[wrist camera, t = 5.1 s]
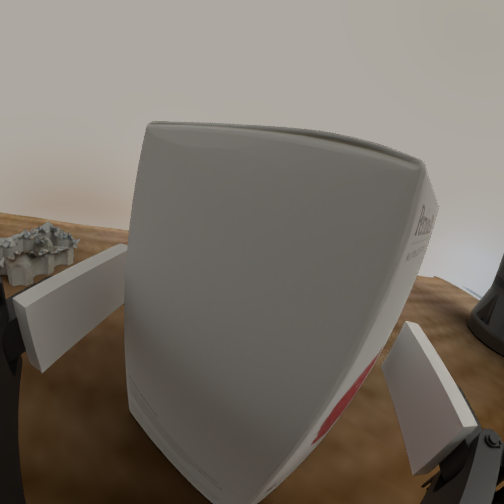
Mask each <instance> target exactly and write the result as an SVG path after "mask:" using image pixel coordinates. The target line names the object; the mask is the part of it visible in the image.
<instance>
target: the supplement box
mask: <svg viewBox="0 0 504 504" xmlns="http://www.w3.org/2000/svg"><path fill="white" fill-rule="evenodd" d="M438 209H439V205H438V203H437V200H436V196H435V194H434V190H433V188H432V185H431V182H430V179H429V176H428V173H427V169H426V166H425V164H424V162H423V161H421V160H419V159H417V158H415V157H412V156H410V155H408V154H405V153H402V152H400V151H397V150H394V149H392V148H389V147H386V146H384V145H380V144H377V143H373V142H370V141H366V140H362V139H358V138H354V137H350V136H345V135H340V134H334V133H330V132H323V131H316V130H308V129H298V128H287V127H274V126H258V125H257V126H256V125H239V124H221V123H196V122H168V121H167V122H166V121H152V122H151V123H149V124H148V125H147V128H146V132H145V136H144V141H143V145H142V150H141V156H140V161H139V166H138V171H137V177H136V183H135V191H134V196H133V204H132V211H131V219H130V228H129V237H128V248H127V260H126V276H125V300H124V344H125V365H126V381H127V392H128V402H129V410H130V412H131V413H132V415H133V416H134V418H135V419H136V420H137V422H138V423H139V424H140V426H141V427H142V428H143V430H144V431H145V432H146V433H147V435H148V436H149V437H150V438H151V440H152V441H153V442H154V443H155V444H156V446H157V447H158V448H159V449H160V450H161V452H162V453H163V454H164V455H165V456H166V457H167V458H168V460H169V461H170V462H171V463H172V464H173V465H174V466H175V467H176V468H177V469H178V470H179V472H180V473H181V474H182V475H183V476H184V477H185V478H186V479H187V480H188V481H189V482H190V483H191V484H192V485H193V486H194V487H195V488H196V489H197V490H198V491H199V492H201V493H202V494H203V495H204V496H205V497H206V498H207V499H208V500H209V501H210V502H211V503H213V504H257V503H259V502H260V501H261V500H262V499H264V498H265V497H266V496H267V495H268V494H269V493H271V492H272V491H273V490H274V489H275V488H276V487H277V486H279V485H280V484H281V483H282V482H283V481H284V480H285V479H286V478H287V477H288V476H289V475H290V474H291V473H292V472H293V471H294V470H295V469H296V468H297V467H298V466H299V465H300V464H301V463H302V462H303V461H304V460H305V459H306V458H307V457H308V456H309V454H310V453H311V452H312V451H313V450H314V449H315V448H316V447H317V445H318V444H319V443H320V442H321V441H322V440H323V438H324V437H325V436H326V435H327V433H328V432H329V431H330V429H331V428H332V427H333V426H334V424H335V423H336V422H337V420H338V419H339V418H340V416H341V415H342V413H343V412H344V411H345V409H346V408H347V406H348V405H349V403H350V402H351V400H352V399H353V397H354V396H355V394H356V393H357V391H358V390H359V388H360V387H361V385H362V383H363V382H364V380H365V379H366V377H367V375H368V374H369V372H370V370H371V369H372V367H373V365H374V364H375V362H376V360H377V358H378V356H379V355H380V353H381V351H382V349H383V347H384V346H385V344H386V342H387V340H388V338H389V336H390V334H391V332H392V330H393V328H394V326H395V324H396V322H397V320H398V318H399V316H400V314H401V312H402V310H403V307H404V305H405V303H406V301H407V298H408V296H409V294H410V291H411V289H412V286H413V284H414V282H415V279H416V277H417V274H418V271H419V269H420V266H421V263H422V261H423V258H424V255H425V252H426V249H427V246H428V243H429V240H430V237H431V234H432V230H433V227H434V224H435V220H436V217H437V213H438Z"/></svg>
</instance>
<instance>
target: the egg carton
mask: <svg viewBox="0 0 504 504" xmlns="http://www.w3.org/2000/svg"><path fill="white" fill-rule="evenodd" d="M78 242H80V240H79V239H77V240H74V239H73V238H72V236H71V234H70V233H65V232H64V230H61V229H60V228H59V227H57V228H55V227H54V226H53V225H52V224H51V223H50V222H49V221H48V222H46V223H45V224H43V225H42V226H39V227H38V228H34V229H31V231H30V232H29V231H27V230H24V231H23V232H22V233H20V234H15V235H13V236H12V237H9V238H0V275H8V279H9V284H10V285H12V286H17V285H25V286H28V285H30V284H32V283H33V278H34V276H36V275H39V274H47V275H50V274H51V273H53V272H54V267H55V266H57V265H71V264H72V263H74V262H73V258H74V250H73V247H75V248H77V243H78Z"/></svg>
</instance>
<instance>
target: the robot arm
mask: <svg viewBox="0 0 504 504" xmlns="http://www.w3.org/2000/svg"><path fill="white" fill-rule="evenodd" d="M127 248H128V246H127V245H124V244H121V243H120V244H118V245H115V246H113V247H111V248H109V249H107V250H105V251H103V252H100V253H98V254H96V255H94V256H92V257H90V258H88V259H86V260H84V261H82V262H80V263H78V264H76V265H74V266H72V267H70V268H68V269H66V270H64V271H62V272H60V273H58V274H56V275H53V276H49V277H46V278H44V279H42V280H40V281H39V282H38V283H35V284H33V285H31V287H27V288H25V289H24V290H22V291H20V292H18V293H16V294H15V295H13V296H11V297H9V298H8V299H6V298H5V293H4V288H3V282H2V278H1V276H0V504H26V502H25V497H24V491H23V485H22V478H21V470H20V459H19V444H18V404H19V388H20V377H21V369H22V357H21V354H22V353H23V352H25V351H26V354H27V357H28V360H29V363H30V364H31V365H33V366H34V367H35V368H37V369H38V370H39V371H41V372H42V373H43V372H44V371H45V370H46V369H48V368H49V367H50V366H51V365H52V364H53V363H54V362H55V361H56V360H58V359H59V358H60V357H61V356H62V355H63V354H64V353H66V352H67V351H68V350H69V349H70V348H71V347H72V346H74V345H75V344H76V343H77V342H78V341H79V340H81V339H82V338H83V337H84V336H85V335H86V334H88V333H89V332H90V331H91V330H92V329H93V328H95V327H96V326H97V325H98V324H99V323H101V322H102V321H103V320H104V319H105V318H107V317H108V316H109V315H110V314H111V313H113V312H114V311H115V310H116V309H117V308H119V307H120V306H121V305H122V304H124V300H125V276H126V260H127ZM467 324H468V326H469V328H470V329H471V331H472V332H473V333H474V334H475V335H476V336H477V337H478V338H479V339H480V340H481V341H482V342H484V343H485V344H486V345H487V346H489V347H490V348H492V349H493V350H495V351H496V352H498V353H500V354H501V355H503V356H504V255H503V258H502V260H501V263H500V266H499V269H498V271H497V274H496V277H495V279H494V282H493V284H492V286H491V288H490V289H489V290H488V292H487V293H486V294H485V295H484V296H483V298H482V299H481V300H480V301H479V302H478V304H477V305H476V306H475V307H474V308H473V310H472V311H471V313H470V315H469V317H468V319H467ZM381 368H382V371H383V374H384V377H385V380H386V383H387V386H388V389H389V392H390V395H391V398H392V401H393V404H394V408H395V411H396V414H397V418H398V421H399V425H400V428H401V432H402V435H403V439H404V443H405V447H406V450H407V454H408V458H409V463H410V467H411V471H412V475H420V474H427V473H429V472H430V471H431V470H433V469H434V468H435V467H436V466H437V465H438V464H439V466H440V471H439V472H438V473H436V474H435V475H434V476H433V477H431V478H430V479H429V480H428V481H426V482H425V483H424V484H423V485H422V486H421V487H423V488H424V487H425V486H426V485H428V484H429V483H431V484H430V486H429V487H428V488H427V489H426V490H427V492H426V494H425V496H424V498H423V500H422V501H421V503H420V504H504V486H503V487H502V488H501V489H500V490H498V491H497V492H496V490H495V488H496V486H498V485H499V484H500V483H501V482H502V481H504V443H502V440H501V438H500V437H499V435H498V434H497V433H496V432H495V431H493V430H491V429H484V430H483V429H482V427H481V425H480V423H479V421H478V419H477V418H476V416H475V414H474V412H473V410H472V408H471V406H469V405H470V404H469V402H468V401H467V399H466V397H465V395H464V393H463V392H462V390H461V388H460V387H459V386H458V385H457V384H456V383H455V382H454V380H453V378H452V377H451V375H450V373H449V372H448V370H447V368H446V367H445V365H444V363H443V362H442V360H441V358H440V357H439V355H438V354H437V352H436V350H435V349H434V347H433V346H432V344H431V343H430V341H429V340H428V338H427V337H426V335H425V334H424V332H423V331H422V329H421V328H420V326H419V325H418V324H417V323H412V322H408V321H405V323H404V325H403V327H402V329H401V331H400V333H399V335H398V337H397V339H396V341H395V342H394V344H393V346H392V348H391V350H390V352H389V353H388V355H387V357H386V359H385V360H384V362H383V364H382V366H381Z"/></svg>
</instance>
